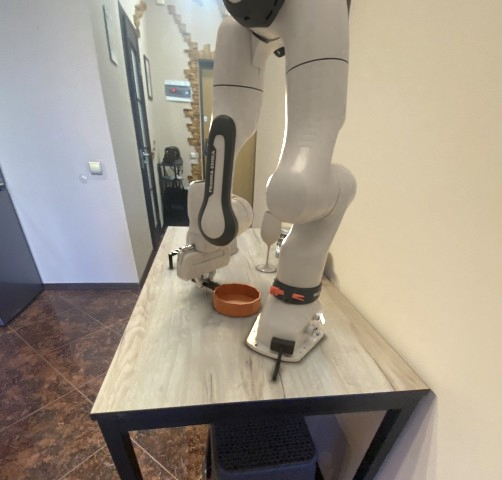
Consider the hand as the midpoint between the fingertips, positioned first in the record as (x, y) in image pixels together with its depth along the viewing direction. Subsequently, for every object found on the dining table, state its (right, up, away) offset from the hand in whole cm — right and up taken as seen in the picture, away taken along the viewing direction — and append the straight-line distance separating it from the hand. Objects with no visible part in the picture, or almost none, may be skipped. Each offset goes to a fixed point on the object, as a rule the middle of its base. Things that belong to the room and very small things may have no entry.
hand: (205, 285), depth 91 cm
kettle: (-3, +23, +37) cm, 43 cm away
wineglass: (+21, +10, +22) cm, 32 cm away
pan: (+6, -5, -2) cm, 8 cm away
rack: (-6, +10, +18) cm, 22 cm away
